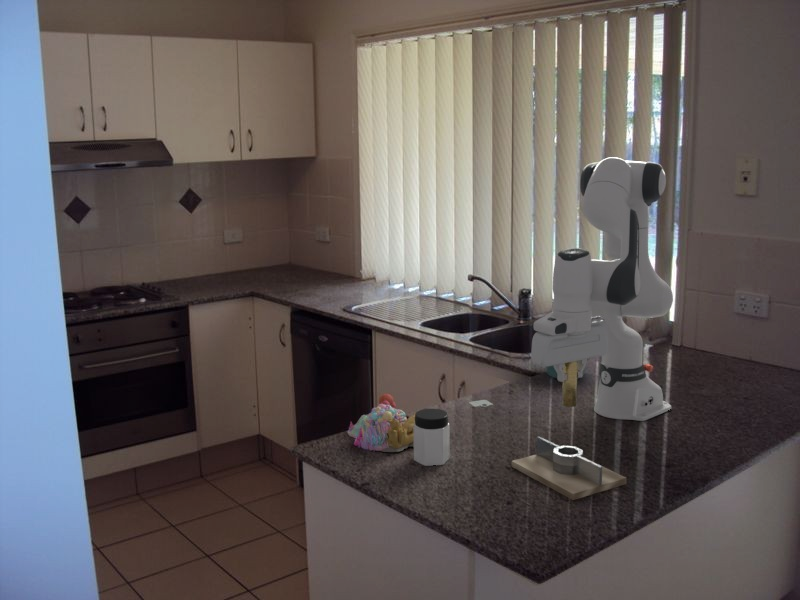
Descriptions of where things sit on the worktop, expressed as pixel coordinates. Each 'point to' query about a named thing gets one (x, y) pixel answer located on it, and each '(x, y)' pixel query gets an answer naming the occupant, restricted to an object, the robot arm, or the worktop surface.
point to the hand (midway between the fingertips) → (569, 379)
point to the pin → (570, 384)
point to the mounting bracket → (481, 403)
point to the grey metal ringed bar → (569, 461)
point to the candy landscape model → (384, 428)
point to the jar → (431, 437)
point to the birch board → (566, 478)
